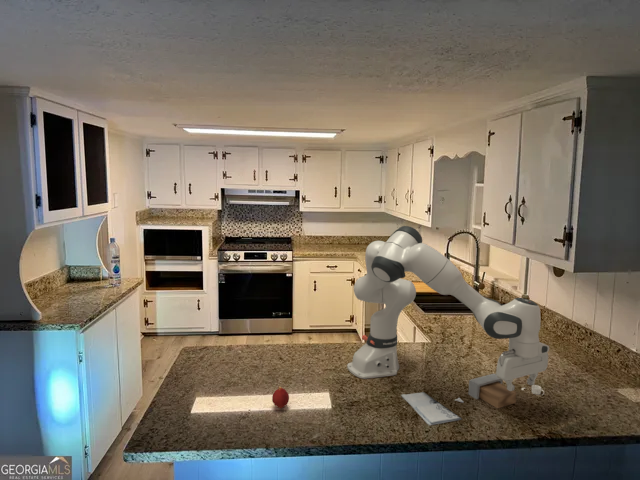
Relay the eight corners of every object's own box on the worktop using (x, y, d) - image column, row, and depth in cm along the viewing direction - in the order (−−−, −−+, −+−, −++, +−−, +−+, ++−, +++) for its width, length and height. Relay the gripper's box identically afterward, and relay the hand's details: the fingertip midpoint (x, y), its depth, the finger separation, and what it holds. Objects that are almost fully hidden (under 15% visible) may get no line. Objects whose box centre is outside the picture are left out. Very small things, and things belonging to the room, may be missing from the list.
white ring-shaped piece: (516, 393, 156) (517, 382, 155) (532, 389, 158) (533, 379, 158) (536, 404, 148) (537, 394, 147) (552, 400, 150) (553, 390, 150)
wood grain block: (497, 408, 141) (498, 397, 141) (471, 392, 152) (471, 382, 152) (515, 402, 145) (516, 392, 145) (488, 387, 156) (489, 377, 156)
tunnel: (476, 400, 148) (477, 384, 147) (468, 395, 151) (469, 379, 150) (501, 393, 153) (502, 377, 152) (493, 388, 156) (494, 373, 156)
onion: (280, 401, 148) (280, 380, 147) (292, 407, 144) (292, 385, 143) (269, 408, 144) (268, 387, 143) (280, 414, 140) (280, 392, 139)
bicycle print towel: (429, 427, 134) (429, 421, 133) (400, 397, 153) (400, 391, 153) (479, 418, 139) (479, 412, 139) (445, 389, 158) (445, 384, 158)
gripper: (508, 356, 128) (505, 398, 130) (553, 346, 137) (549, 385, 138) (492, 349, 134) (490, 389, 136) (536, 339, 142) (533, 377, 144)
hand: (520, 387), depth 137 cm, fingers open, 8 cm apart
